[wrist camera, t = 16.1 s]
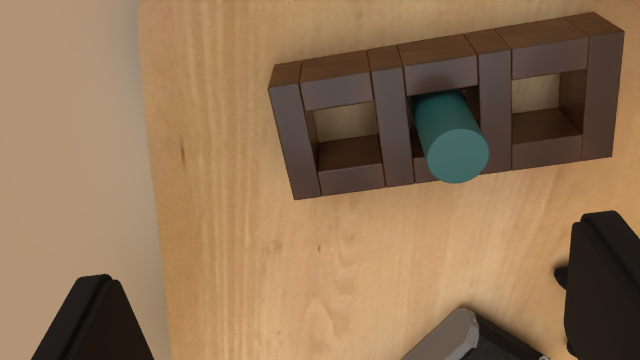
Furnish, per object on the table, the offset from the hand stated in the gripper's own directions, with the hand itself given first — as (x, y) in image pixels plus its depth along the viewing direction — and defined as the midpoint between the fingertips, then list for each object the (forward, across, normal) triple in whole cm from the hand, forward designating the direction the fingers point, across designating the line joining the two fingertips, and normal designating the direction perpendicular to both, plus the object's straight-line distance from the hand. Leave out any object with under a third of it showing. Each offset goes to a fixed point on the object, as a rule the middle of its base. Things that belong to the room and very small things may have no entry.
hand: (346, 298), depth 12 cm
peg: (+24, -6, +6) cm, 26 cm away
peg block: (+24, -6, +6) cm, 26 cm away
